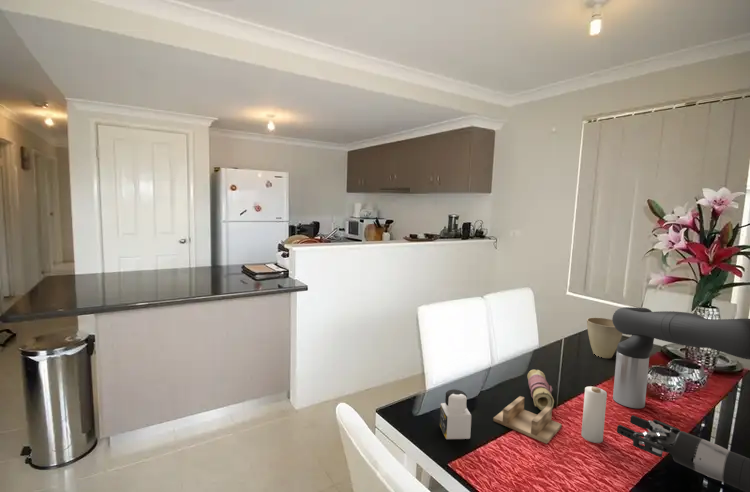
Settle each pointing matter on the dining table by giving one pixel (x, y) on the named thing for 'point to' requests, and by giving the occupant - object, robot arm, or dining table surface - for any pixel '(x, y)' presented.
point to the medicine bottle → (455, 416)
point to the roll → (594, 414)
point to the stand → (528, 421)
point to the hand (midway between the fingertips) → (624, 423)
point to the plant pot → (603, 336)
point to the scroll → (540, 389)
